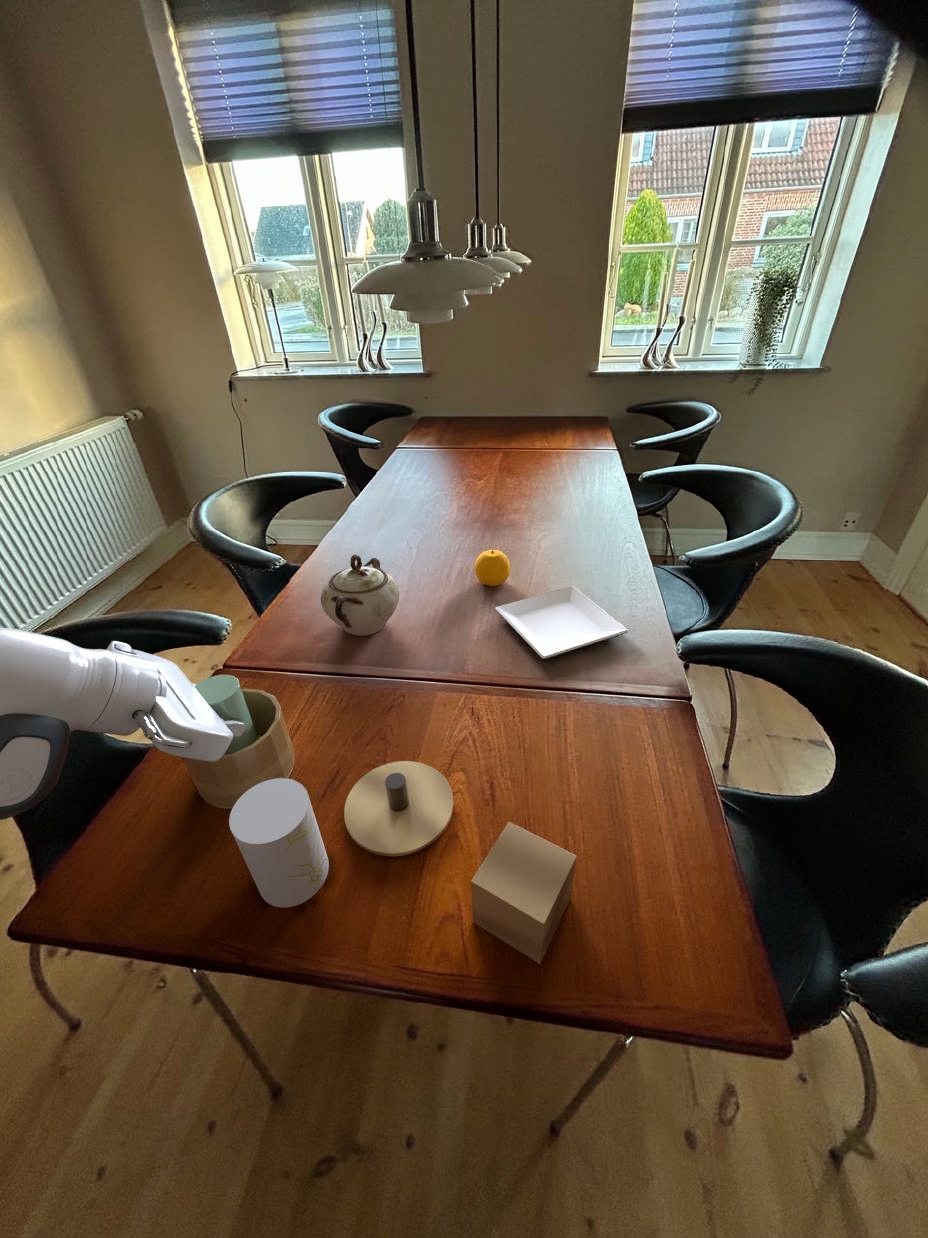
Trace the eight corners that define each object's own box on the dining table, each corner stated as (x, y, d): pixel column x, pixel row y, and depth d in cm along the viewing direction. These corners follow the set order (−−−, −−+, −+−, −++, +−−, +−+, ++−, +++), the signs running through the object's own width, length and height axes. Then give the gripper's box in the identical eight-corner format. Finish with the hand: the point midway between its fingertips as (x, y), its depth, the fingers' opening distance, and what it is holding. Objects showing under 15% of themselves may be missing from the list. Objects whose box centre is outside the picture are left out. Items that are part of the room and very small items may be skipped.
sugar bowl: (350, 595, 116) (339, 532, 107) (415, 601, 113) (409, 537, 104) (308, 648, 100) (291, 579, 92) (383, 657, 97) (372, 587, 88)
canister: (233, 771, 70) (209, 710, 64) (206, 754, 73) (180, 694, 67) (268, 743, 74) (248, 683, 68) (241, 728, 77) (219, 669, 71)
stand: (540, 964, 54) (544, 924, 49) (472, 922, 57) (470, 881, 53) (571, 897, 59) (577, 856, 55) (507, 862, 63) (508, 821, 58)
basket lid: (410, 880, 61) (405, 852, 58) (322, 825, 68) (313, 797, 65) (474, 793, 71) (473, 765, 68) (391, 752, 78) (387, 724, 75)
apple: (471, 589, 116) (470, 558, 112) (478, 571, 123) (478, 542, 118) (507, 592, 115) (507, 561, 110) (512, 574, 121) (513, 544, 117)
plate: (542, 667, 93) (543, 657, 92) (494, 615, 107) (494, 606, 106) (628, 639, 99) (630, 629, 98) (572, 593, 113) (573, 584, 112)
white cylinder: (319, 907, 59) (297, 843, 53) (248, 907, 59) (216, 844, 53) (335, 841, 66) (317, 777, 59) (271, 842, 66) (245, 778, 60)
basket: (239, 825, 68) (218, 776, 63) (178, 782, 75) (154, 734, 69) (313, 757, 78) (300, 709, 72) (254, 724, 84) (237, 678, 78)
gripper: (167, 715, 53) (278, 733, 64) (110, 634, 66) (211, 661, 77) (136, 770, 53) (252, 779, 64) (85, 678, 66) (190, 699, 77)
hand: (229, 714), depth 71 cm, fingers closed on canister, 6 cm apart
